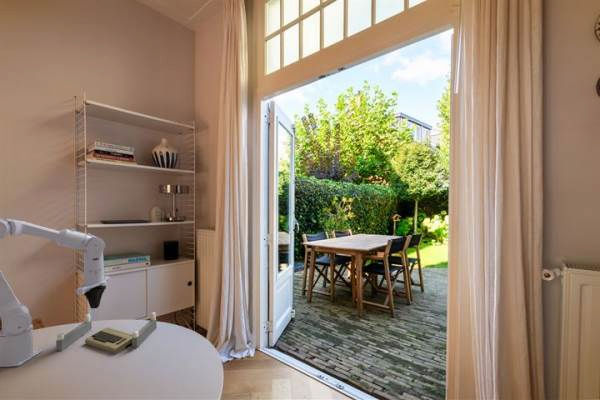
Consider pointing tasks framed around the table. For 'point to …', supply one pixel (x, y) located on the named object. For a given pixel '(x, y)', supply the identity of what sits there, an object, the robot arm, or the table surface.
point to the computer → (110, 340)
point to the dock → (86, 326)
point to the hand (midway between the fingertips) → (94, 307)
